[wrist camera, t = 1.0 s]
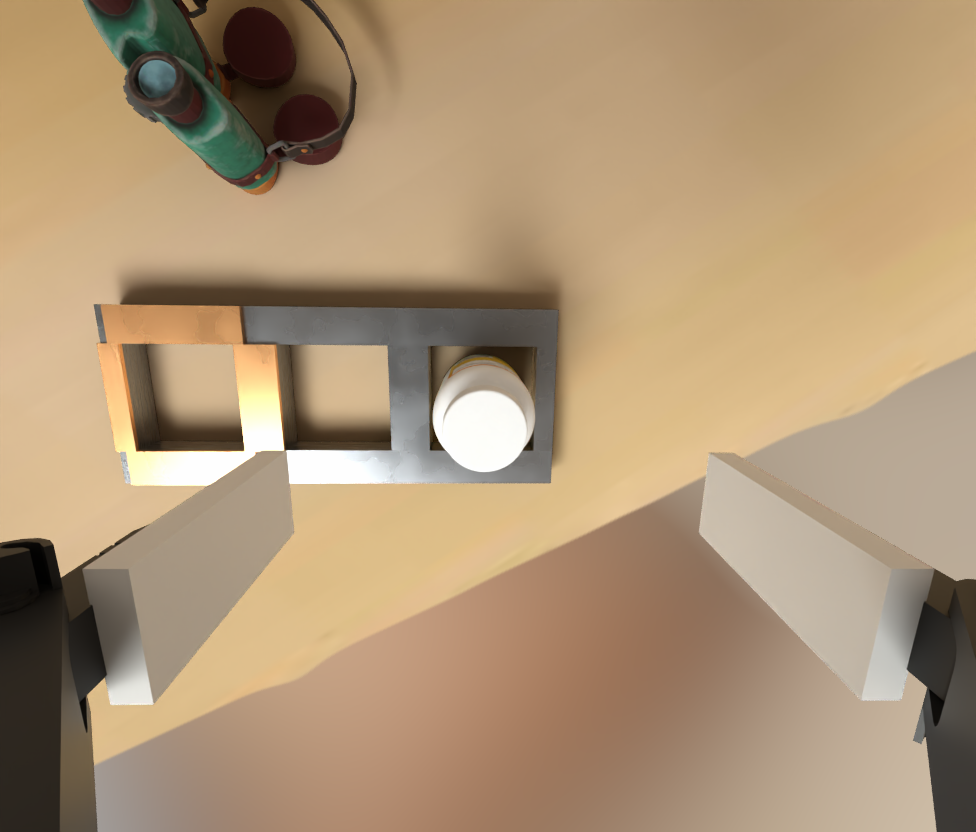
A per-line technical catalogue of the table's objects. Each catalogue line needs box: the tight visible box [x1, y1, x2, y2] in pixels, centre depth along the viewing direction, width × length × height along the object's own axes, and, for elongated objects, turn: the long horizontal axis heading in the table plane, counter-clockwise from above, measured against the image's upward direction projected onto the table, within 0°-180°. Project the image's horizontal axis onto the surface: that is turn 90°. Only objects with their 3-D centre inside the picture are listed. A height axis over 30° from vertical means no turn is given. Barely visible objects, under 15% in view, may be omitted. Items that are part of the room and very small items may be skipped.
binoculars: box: [83, 0, 357, 195], centre depth 22 cm, size 9×10×10 cm
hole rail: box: [94, 304, 558, 485], centre depth 29 cm, size 27×11×2 cm, turn 89°
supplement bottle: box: [433, 354, 535, 472], centre depth 26 cm, size 5×5×10 cm
